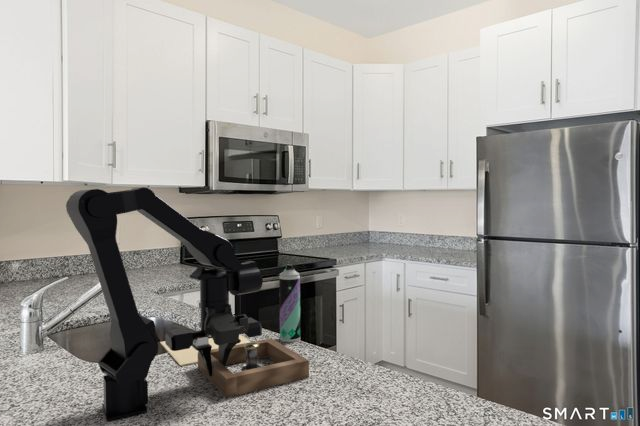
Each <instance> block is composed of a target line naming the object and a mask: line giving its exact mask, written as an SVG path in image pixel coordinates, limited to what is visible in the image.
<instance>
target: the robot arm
mask: <svg viewBox="0 0 640 426" xmlns="http://www.w3.org/2000/svg"><path fill="white" fill-rule="evenodd" d="M65 208H66V212H67V215H68V217H69V218H70V220H71V222H72V224H73V225H74V227H75V229H76V230H77V232H78V233H79V235H80V236H81V237H82V240H83V241H84V242H85V243H86V245H87V248H88V251H89V253H90V257H91V259H92V262H93V267H94V269H95V272H96V276H97V278H98V281H99V285H100V287H101V290H102V294H103V296H104V300H105V304H106V306H107V310H108V313H109V316H110V319H111V320H110V321H111V322H110V330H109V331H110V332H109V337H110V339H109V340H110V346H111V347H110V348H109V349H108V350H107V351H106V352H105V354H104V355H103V356H102V357H101V358H100V359H99V360H98V363H97V365H98V367H99V369H100V372H101V373H103V374H105V375H103V377H102V378H103V379H102V380H103V404H102V405H101V406H102V408H101V409H102V411H103V413H104V414H103V415H104V418H105V420H106V421H107V422H109V421H113V420H117V419H118V420H119V419H121V418H126V417H130V416H131V417H132V416H134V415H139V414H143V413H146V412H148V407H147V406H146V405H148V403H149V393H148V392H149V391H148V390H149V388H148V387H149V386H148V385H149V383H148V382H149V381H148V380H147V377H148V374H149V371H150V369H151V365H152V362H153V361H154V359H155V358H156V356H157V355H158V353H159V345H158V343H160V342H161V339H160V338H159V337H158V335H157V331H156V324H155V321H154V320H152V319H150V318H147V317H145V316H143V315H140V313H139V311H138V308H137V304H136V302H135V298H134V295H133V291H132V287H131V285H130V281H129V278H128V275H127V272H126V268H125V265H124V261H123V258H122V255H121V252H120V248H119V245H118V241H117V229H118V215H121V214H122V215H123V214H127V213H131V212H135V211H137V212H138V213H139V214H141V215H142V216H143V217H145V218H146V219H148V220H149V221H151V222H152V223H154V224H155V225H157V226H158V227H159V228H160V229H163V230H164V231H165V232H167V233H168V234H170V235H171V236H172V237H174V238H175V239H176V240H178V241H180V242H181V243H182V244H183V245H184V247H185V248H186V250H187V251H188V253H189V254H190V255H191V256H192V257H193V258H194V259H195V260H196V261H197V262H198V263H199V264H201V265H205V266H211V267H213V268H209V269H206V268H205V267H203V266H197V267H196V269H195V270H194V271H193V272H192V273H191V274H190V275H189V278H190V279H192V280H196V281H199V293H200V294H199V297H200V299H199V300H200V302H198V308H199V309H200V310H199V311H200V322H198V324H199V325H198V327H199V328H200V329H199V330H194V331H191V330H189V329H188V328H187V327H181V328H180V327H178V328H174V329H173V328H172V329H168V330H167V331H166V333H165V336H164V337H165V338H164V339H165V340H164V341H165V344H166V345H167V346H168V347H169V348H170V349H171V350H172V351H178V350H183V349H189V348H190V347H191V346H192V347H193V348H194V349H196V350H198V351H199V353H200V355H201V358H202V360H203V362H204V365H205V367H206V370H207V372H208V375H209V376H212V362H211V348H212V346H211V345H210V344H208V339H209V338H213V340H214V343H215V344H216V345H218V346H219V362H220V363H221V364H223V365H224V366H225V367H227V365H226V363H227V360H228V357H229V354H230V352H231V350H232V348H233V347H234V346H235V345H236V344H237V343H240V342H241V340H240V339H239V334H240V335H243V334H244V335H245V336H247V338H255V337H261V336H262V335H263V326H262V324H261V322H260V321H258V320H256V319H254V318H252V317H249V316H247V314H245V313H243V314H238V315H233V314H234V313H233V312H232V310H233V309H232V305H231V304H230V295H232V296H240V295H246V294H251V293H257V292H259V291H260V290H261V289H262V287H263V281H264V279H263V277H262V274H261V273H262V272H261V271H260V269H259V268H258V267H257V261H252V260H248V261H244V262H241V261H240V260H239V258H238V257H237V255H236V254H235V252H234V250H233V249H234V248H233V247H234V245H233V244H232V243H231V242H230V241H229V240H228V239H227V238H224V237H222V236H220V235H218V234H217V233H213V232H211V231H208V230H205V229H203V228H201V227H199V225H197V224H195V223H194V222H193V221H191V220H190V219H189V218H187V217H186V216H184V215H183V214H182V213H180V212H179V211H178V210H177V209H175V208H174V207H173V206H171V204H168V203H167V202H166V201H165V200H163V199H162V198H160V196H158V195H156V194H155V192H154V191H153V190H152V189H151V188H148V187H142V186H141V187H134V188H131V189H128V190H127V189H126V190H120V191H118V190H117V191H111V192H107V191H105V190H104V189H99V188H96V189H95V188H94V189H93V188H92V189H91V188H90V189H83V190H80V189H79V191H78V190H77V191H76V192H73V193H72V194H71V195H70V196H69V198H68V200H67V201H66V204H65ZM220 269H222V270H223V269H224V271H221V270H220Z"/></svg>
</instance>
